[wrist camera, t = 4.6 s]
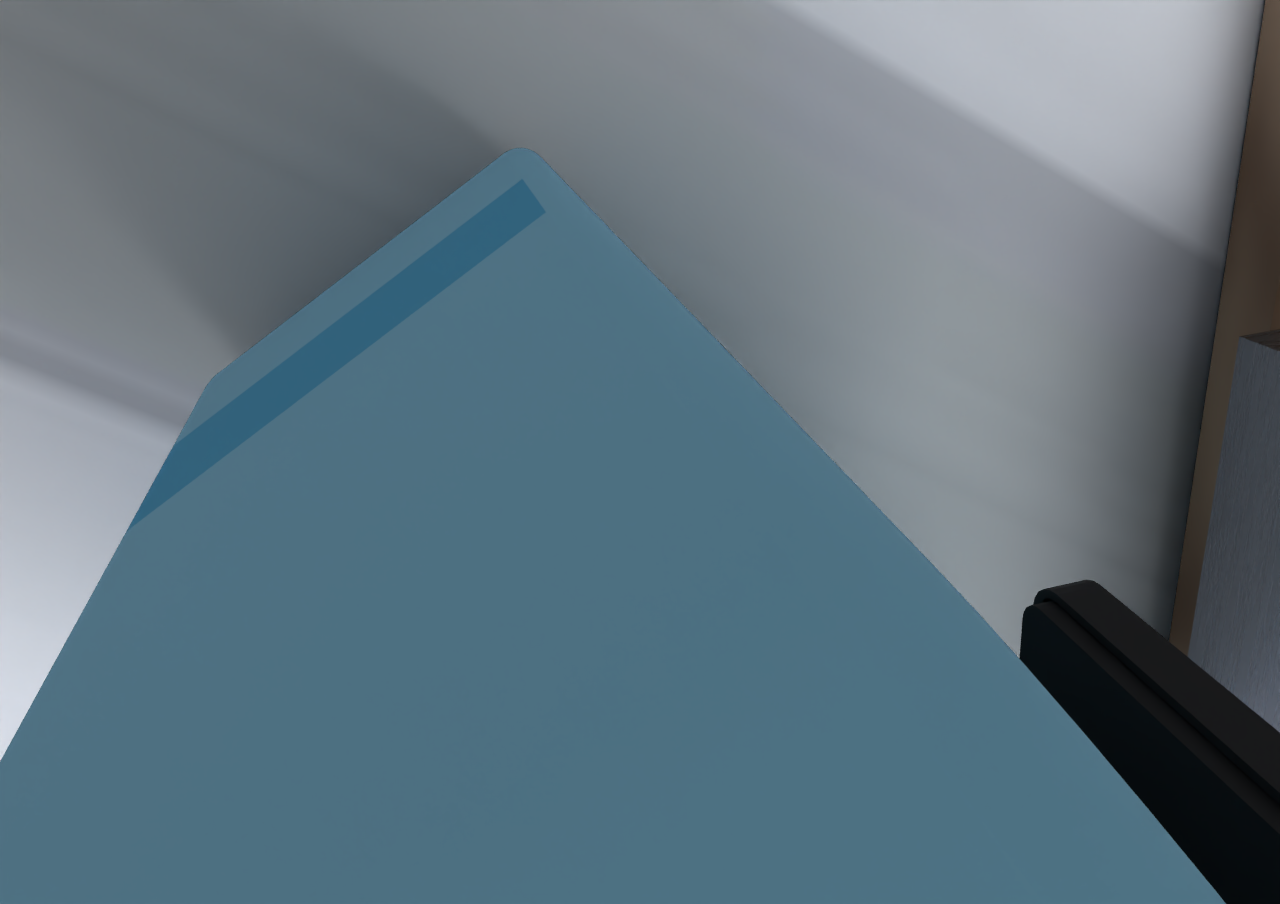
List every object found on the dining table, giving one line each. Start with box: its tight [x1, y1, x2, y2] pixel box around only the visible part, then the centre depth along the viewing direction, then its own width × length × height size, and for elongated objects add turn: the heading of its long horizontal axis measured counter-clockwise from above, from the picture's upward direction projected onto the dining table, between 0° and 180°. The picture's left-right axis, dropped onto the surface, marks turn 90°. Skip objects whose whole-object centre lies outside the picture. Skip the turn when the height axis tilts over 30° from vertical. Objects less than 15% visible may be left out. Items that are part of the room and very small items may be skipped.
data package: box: [0, 148, 1226, 904], centre depth 9 cm, size 12×4×12 cm, turn 35°
